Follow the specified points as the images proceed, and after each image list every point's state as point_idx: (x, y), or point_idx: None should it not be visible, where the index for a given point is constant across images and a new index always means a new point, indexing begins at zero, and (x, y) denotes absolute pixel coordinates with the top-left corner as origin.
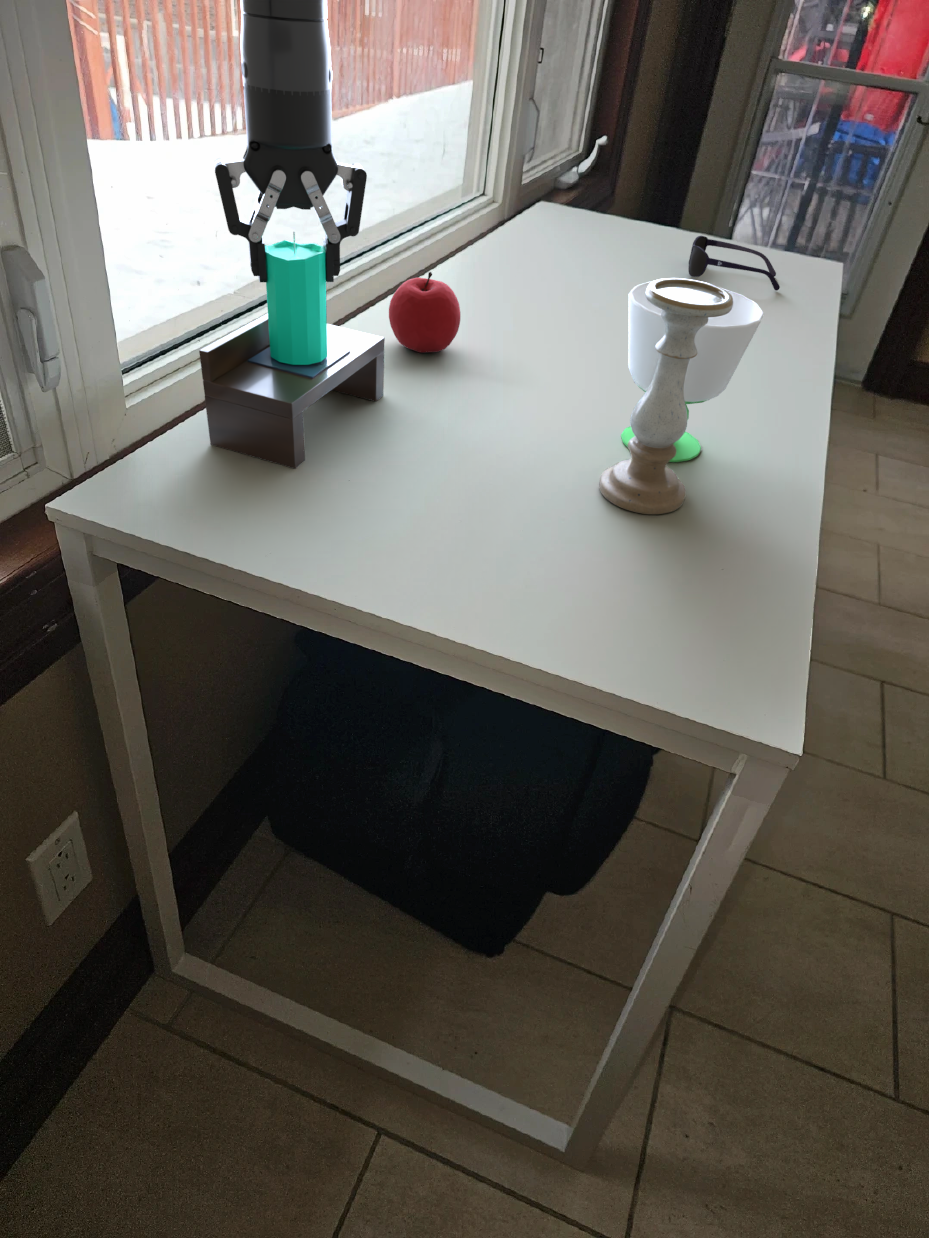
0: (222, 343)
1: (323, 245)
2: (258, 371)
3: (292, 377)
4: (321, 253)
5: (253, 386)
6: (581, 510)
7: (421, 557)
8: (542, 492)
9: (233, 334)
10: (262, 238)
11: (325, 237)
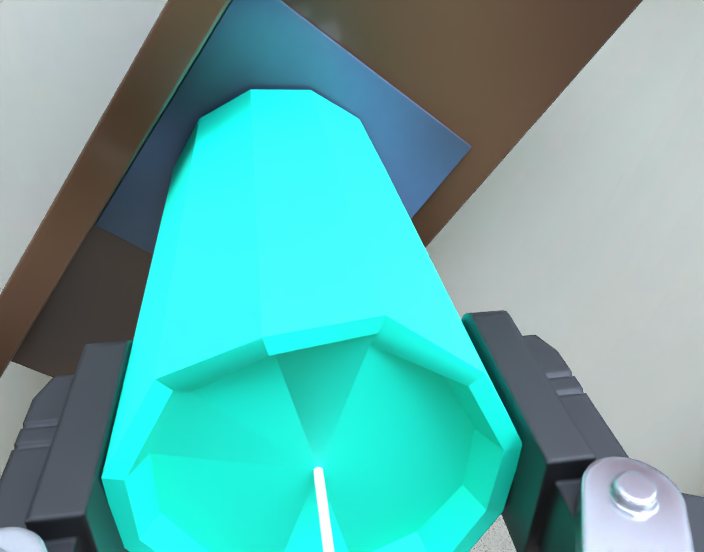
0: (2, 366)
1: (525, 434)
2: (143, 290)
3: None
4: (469, 548)
5: None
6: (689, 445)
7: None
8: (665, 405)
9: (25, 289)
10: (87, 540)
11: (558, 495)
